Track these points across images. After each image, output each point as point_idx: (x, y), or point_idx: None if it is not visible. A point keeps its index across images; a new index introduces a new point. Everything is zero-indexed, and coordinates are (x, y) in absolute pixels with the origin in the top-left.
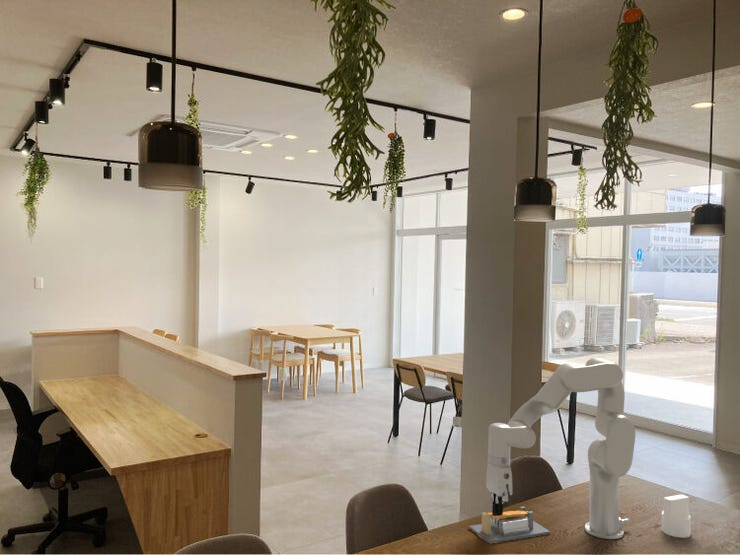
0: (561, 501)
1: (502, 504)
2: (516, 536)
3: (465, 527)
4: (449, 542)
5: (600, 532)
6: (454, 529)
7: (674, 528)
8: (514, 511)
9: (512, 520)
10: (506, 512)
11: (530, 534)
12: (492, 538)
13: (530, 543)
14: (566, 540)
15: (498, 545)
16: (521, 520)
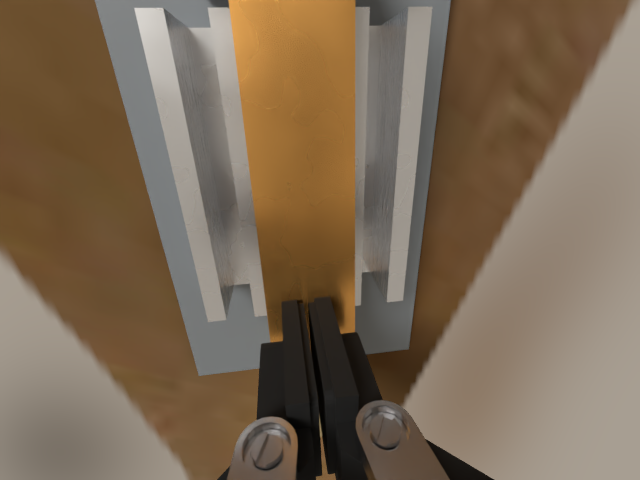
0: None
1: (351, 376)
2: (424, 185)
3: (181, 373)
4: (324, 456)
5: None
6: (199, 419)
7: None
8: (258, 101)
9: (360, 187)
10: (285, 229)
11: (442, 57)
12: (388, 324)
13: (497, 120)
14: None
15: (430, 303)
16: (421, 114)
